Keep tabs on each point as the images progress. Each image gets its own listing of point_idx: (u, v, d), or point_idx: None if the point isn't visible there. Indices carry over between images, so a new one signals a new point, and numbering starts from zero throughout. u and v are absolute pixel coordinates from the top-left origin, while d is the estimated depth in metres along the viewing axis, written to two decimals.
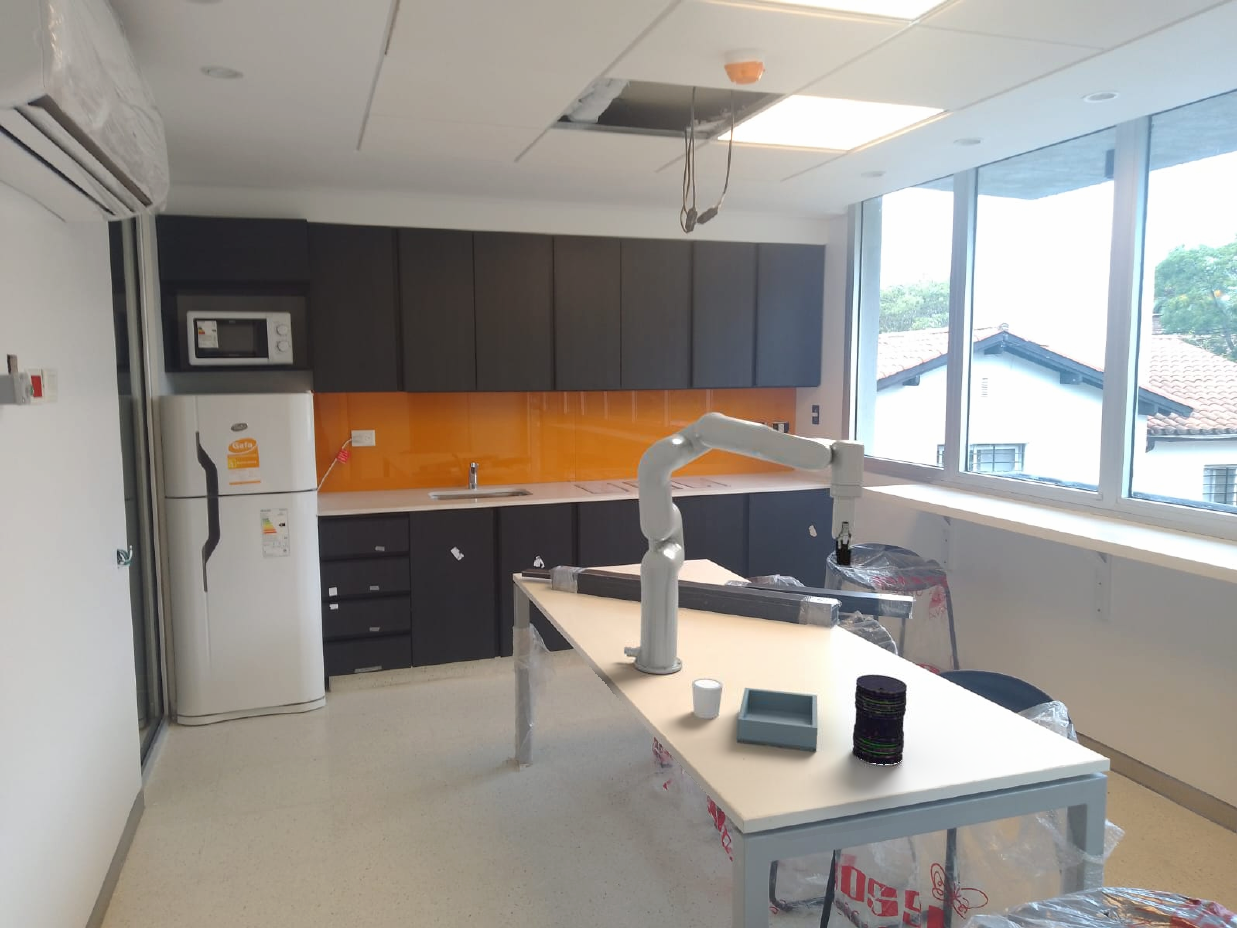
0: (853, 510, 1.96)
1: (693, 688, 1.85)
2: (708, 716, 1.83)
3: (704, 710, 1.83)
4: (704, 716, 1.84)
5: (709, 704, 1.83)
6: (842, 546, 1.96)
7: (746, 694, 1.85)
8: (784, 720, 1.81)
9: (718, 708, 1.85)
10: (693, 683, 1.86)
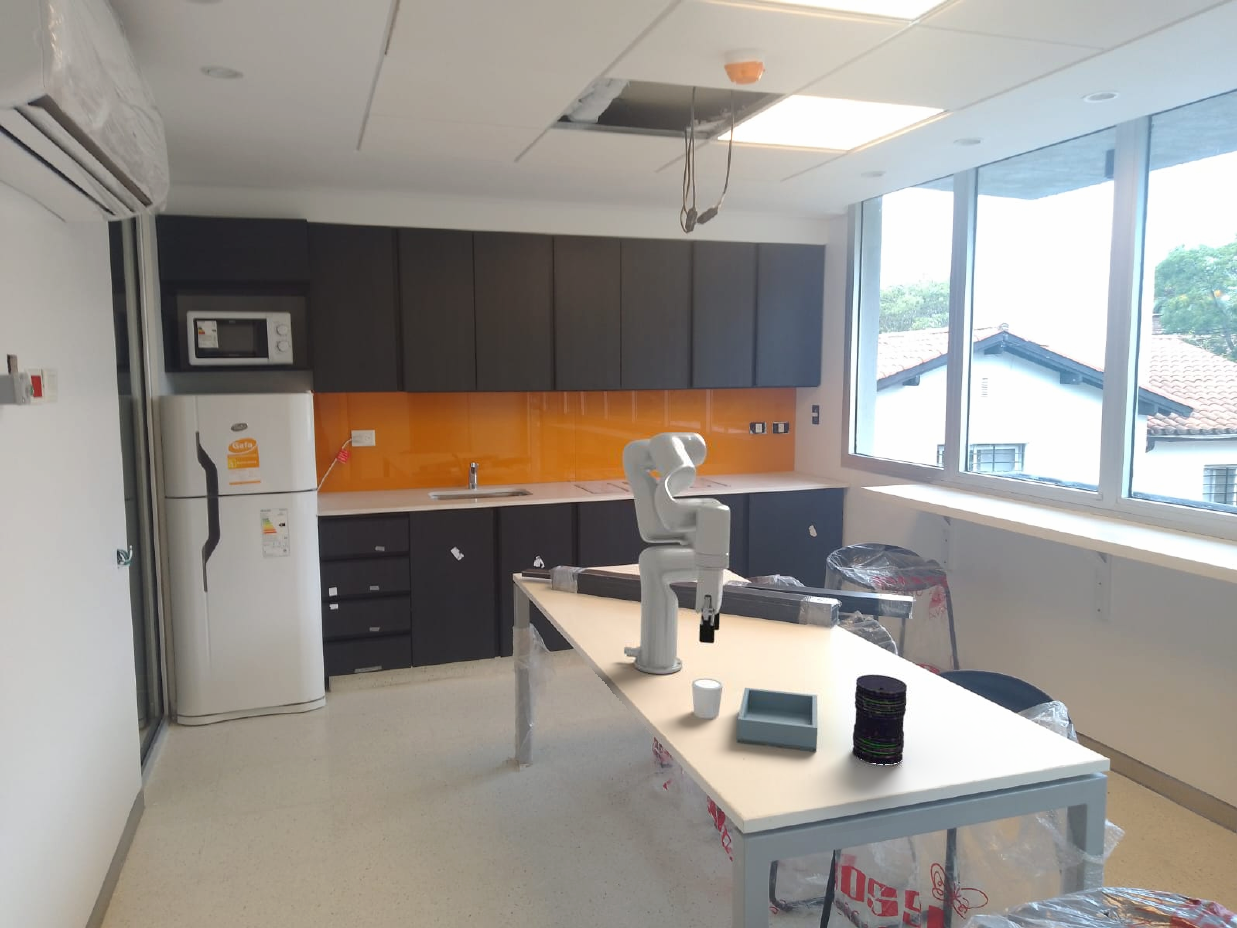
0: (716, 582, 1.78)
1: (693, 688, 1.85)
2: (708, 716, 1.83)
3: (704, 710, 1.83)
4: (704, 716, 1.84)
5: (709, 704, 1.83)
6: (704, 622, 1.77)
7: (746, 694, 1.85)
8: (784, 720, 1.81)
9: (718, 708, 1.85)
10: (693, 683, 1.86)
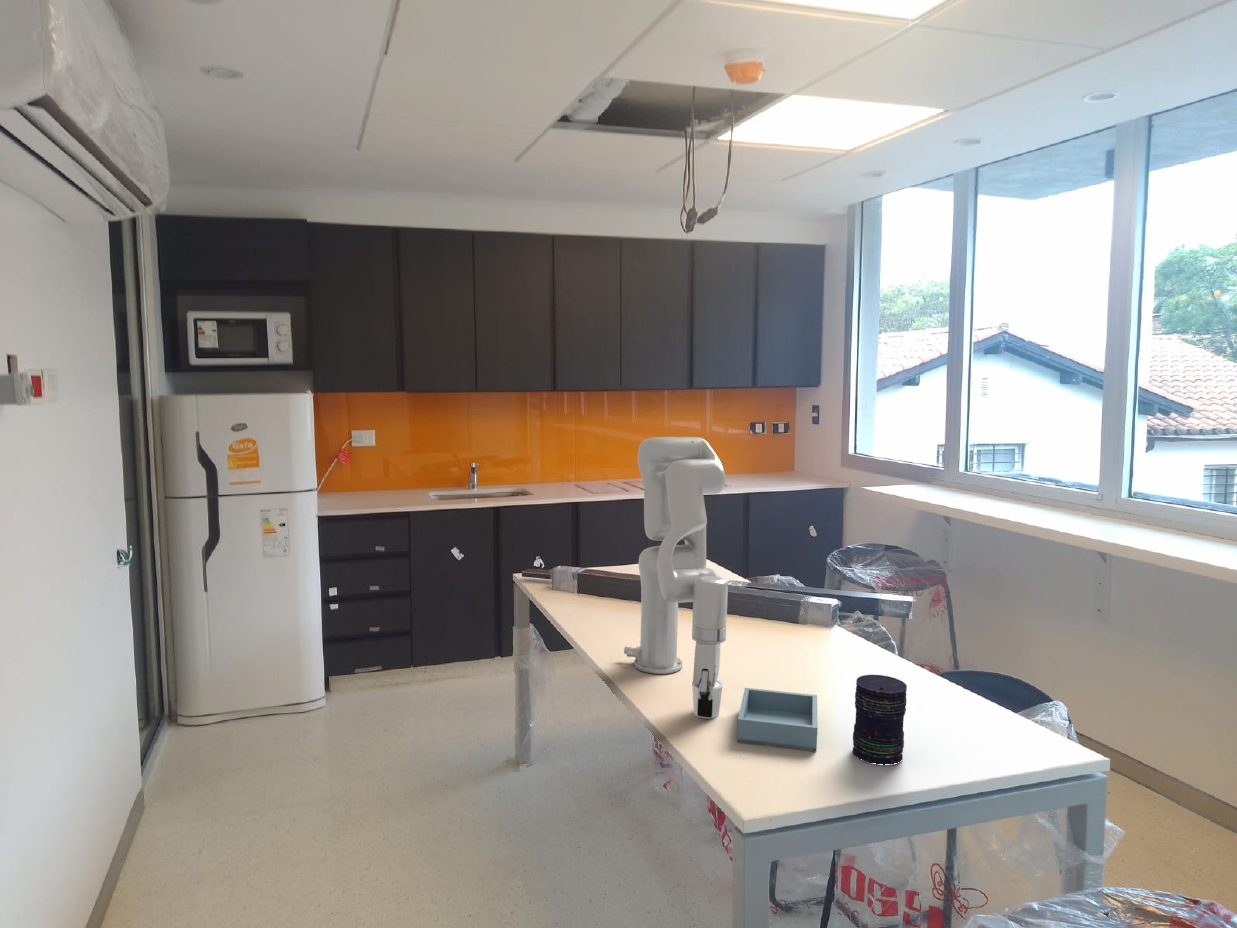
0: (713, 656, 1.80)
1: (693, 688, 1.85)
2: None
3: None
4: None
5: None
6: (702, 697, 1.81)
7: (746, 694, 1.85)
8: (784, 720, 1.81)
9: (718, 708, 1.85)
10: None
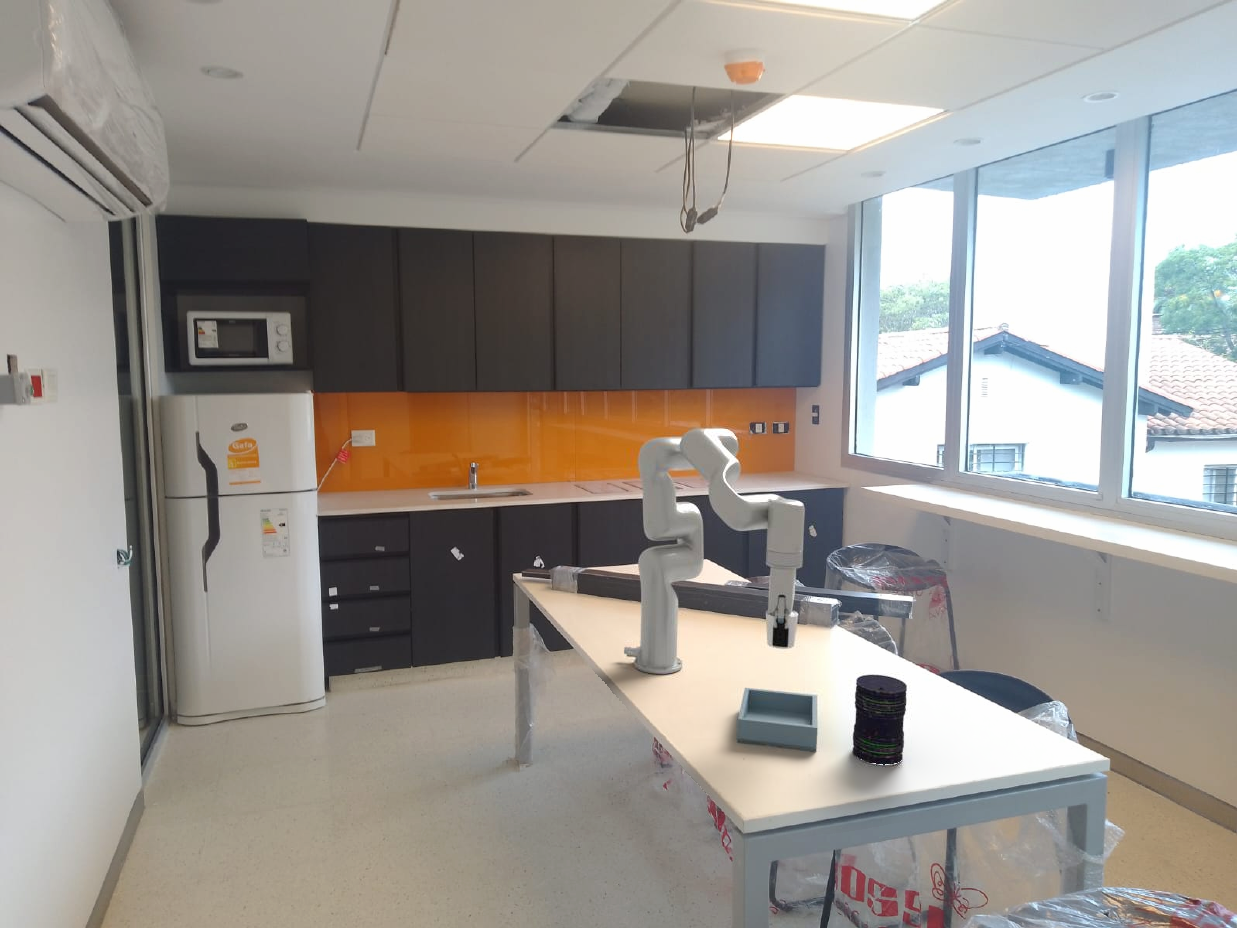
0: (791, 582, 1.71)
1: (767, 617, 1.76)
2: None
3: None
4: None
5: None
6: (778, 626, 1.72)
7: (746, 694, 1.85)
8: (784, 720, 1.81)
9: (794, 638, 1.75)
10: (767, 612, 1.76)
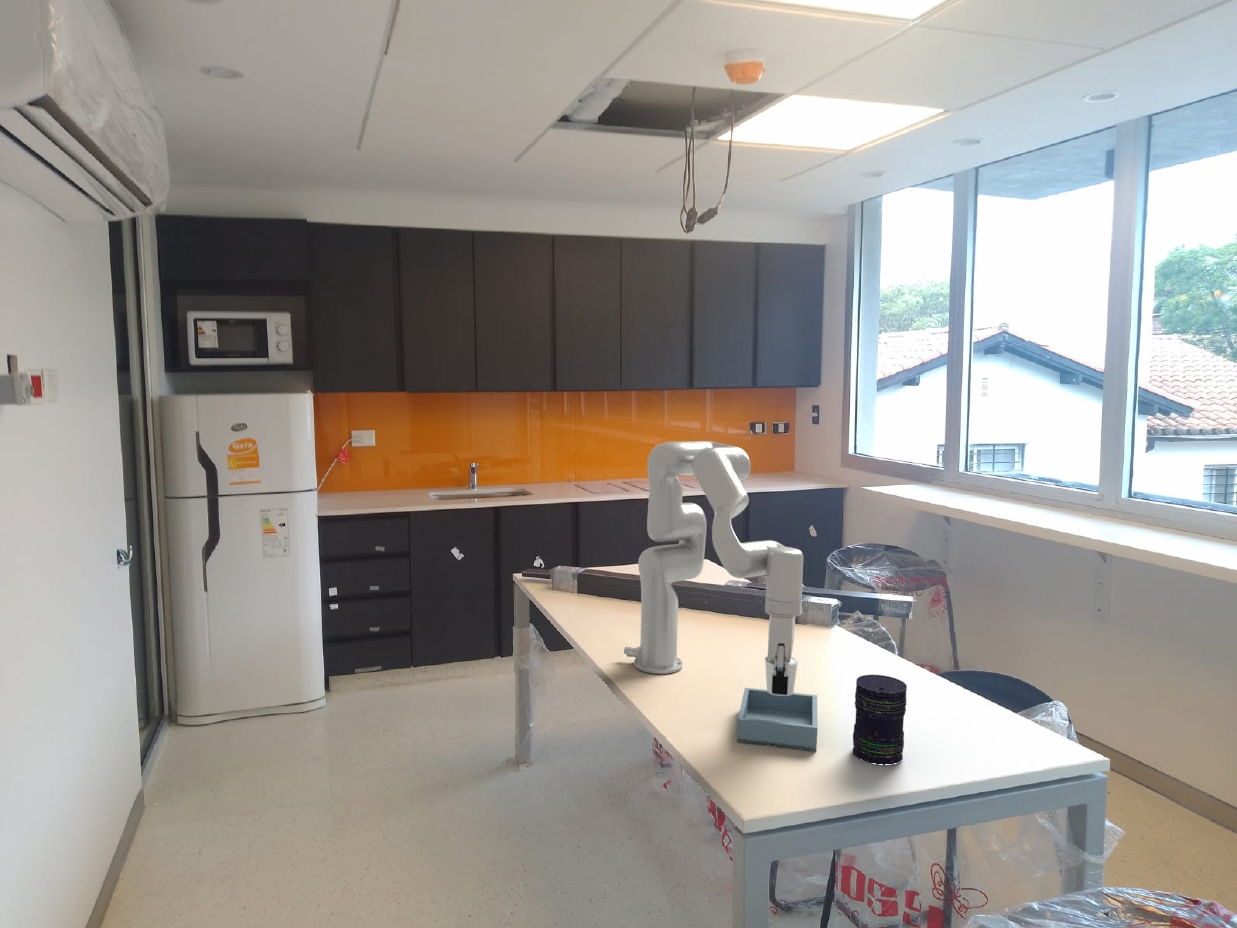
0: (790, 630, 1.72)
1: (766, 664, 1.77)
2: None
3: None
4: None
5: None
6: (777, 674, 1.73)
7: (746, 694, 1.85)
8: (784, 720, 1.81)
9: (793, 685, 1.76)
10: (766, 659, 1.77)
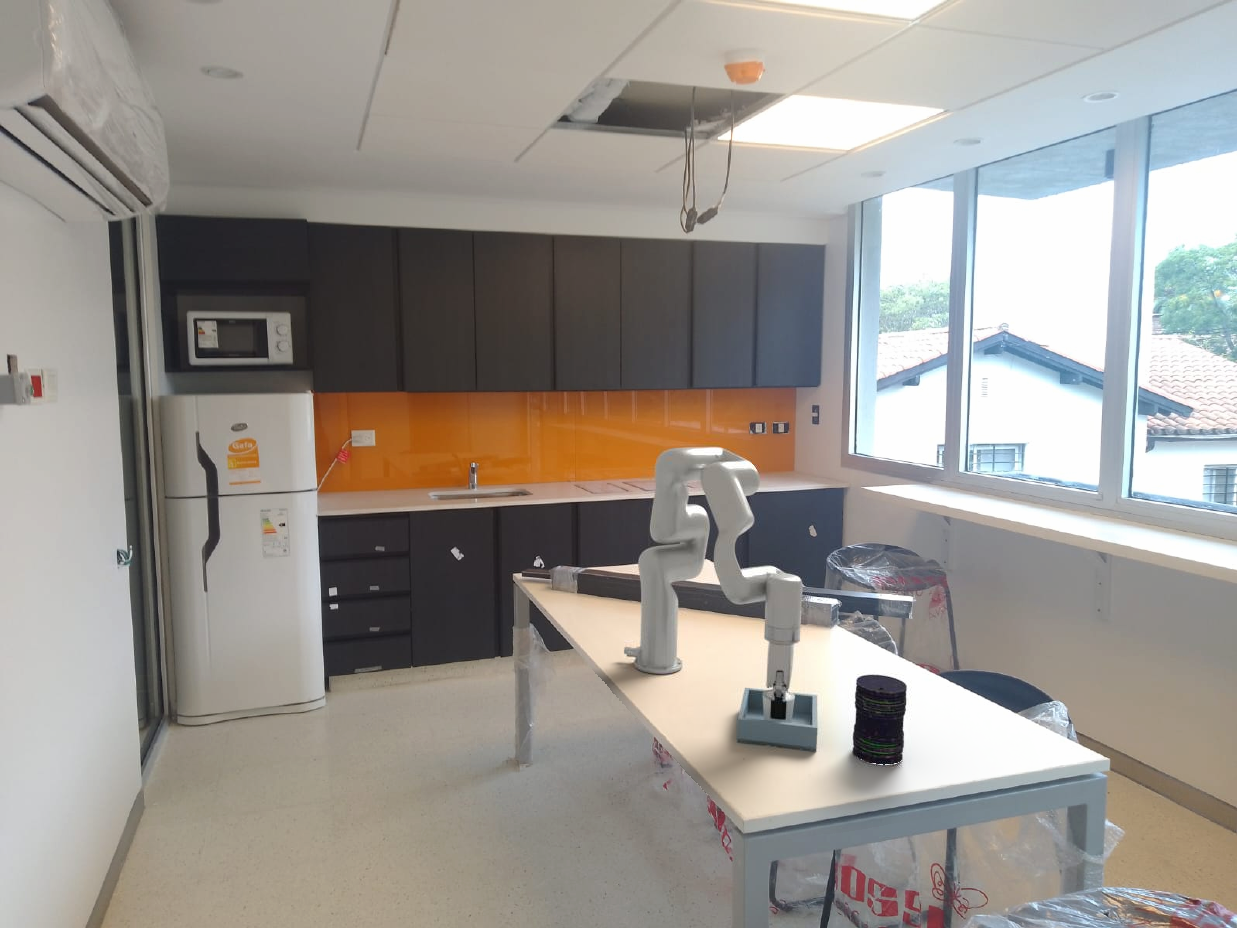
0: (789, 657, 1.72)
1: (763, 699, 1.77)
2: None
3: None
4: None
5: None
6: (776, 699, 1.72)
7: (746, 694, 1.85)
8: None
9: (790, 721, 1.77)
10: (764, 694, 1.78)
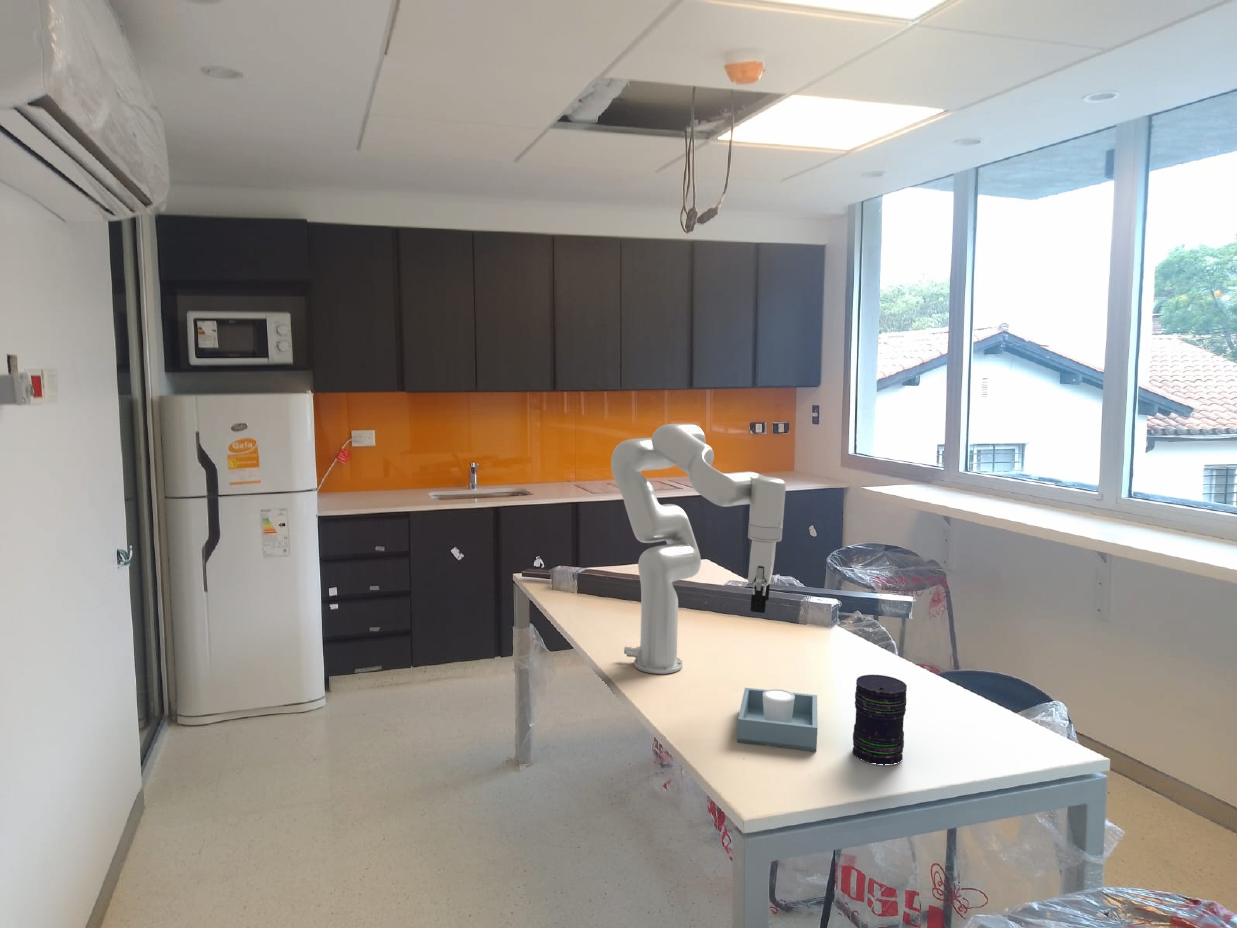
0: (770, 554, 1.83)
1: (763, 699, 1.77)
2: None
3: None
4: None
5: (781, 716, 1.75)
6: (756, 592, 1.82)
7: (746, 694, 1.85)
8: None
9: (790, 721, 1.77)
10: (764, 694, 1.78)
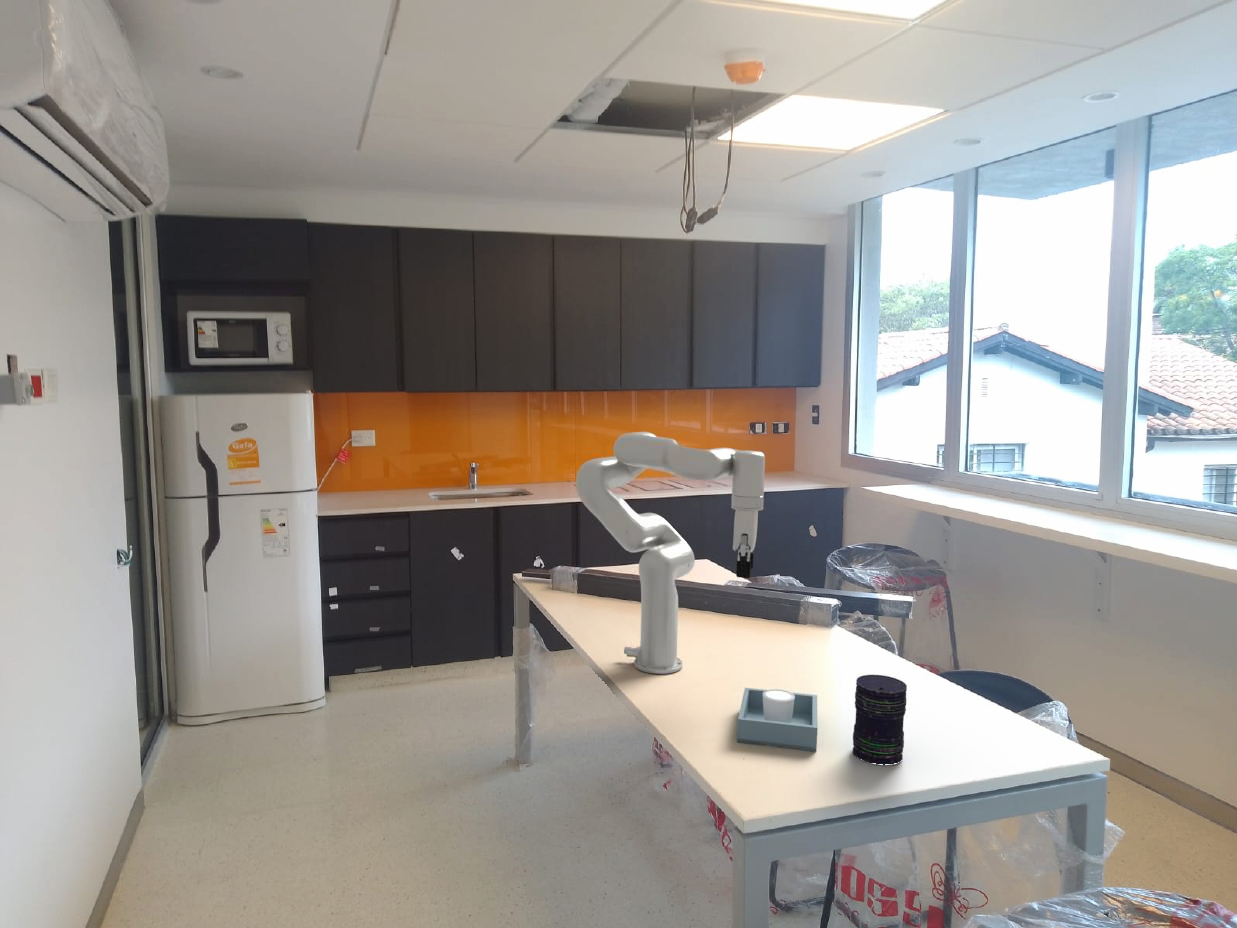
0: (752, 522, 1.94)
1: (763, 699, 1.77)
2: None
3: None
4: None
5: (781, 716, 1.75)
6: (741, 558, 1.94)
7: (746, 694, 1.85)
8: None
9: (790, 721, 1.77)
10: (764, 694, 1.78)
